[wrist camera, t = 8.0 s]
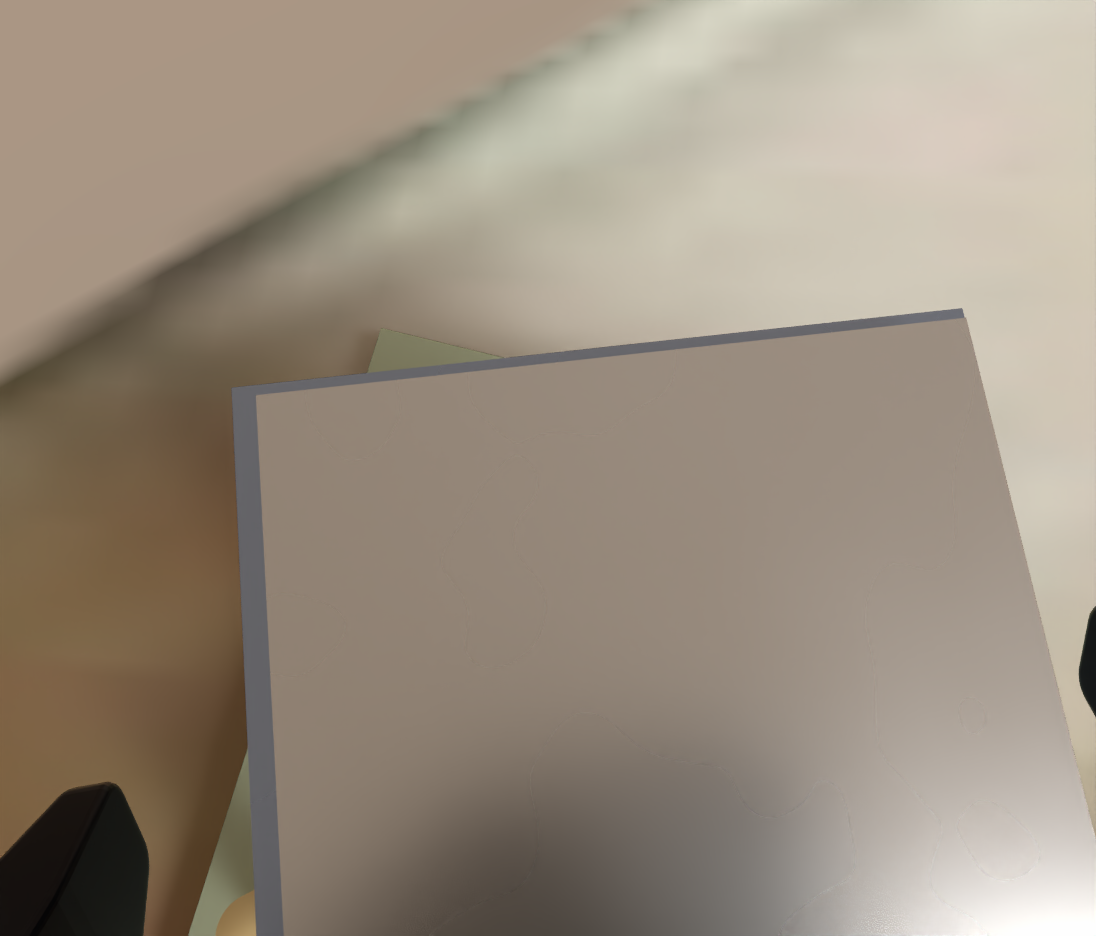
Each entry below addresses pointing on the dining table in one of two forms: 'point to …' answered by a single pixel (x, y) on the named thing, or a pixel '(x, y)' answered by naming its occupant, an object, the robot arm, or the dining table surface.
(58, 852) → the robot arm
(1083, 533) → the dining table surface
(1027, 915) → the block
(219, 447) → the dining table surface
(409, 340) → the chassis
